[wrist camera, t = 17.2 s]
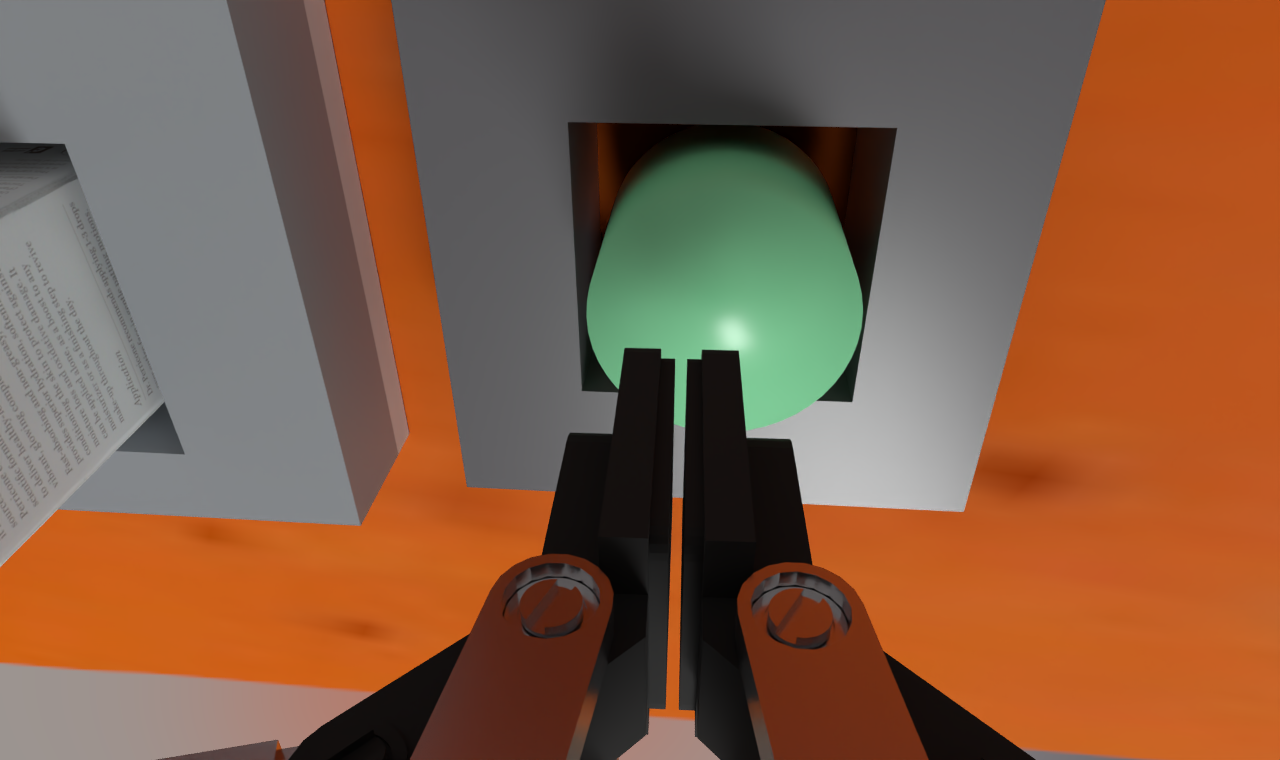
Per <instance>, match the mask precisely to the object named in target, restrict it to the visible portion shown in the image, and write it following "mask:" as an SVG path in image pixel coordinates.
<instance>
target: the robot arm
mask: <svg viewBox="0 0 1280 760" xmlns="http://www.w3.org/2000/svg"><path fill="white" fill-rule="evenodd" d="M674 401H675V359H671V358H661V349H657V348H625V349H624V355H623V362H622V369H621V376H620V383H619V390H618V398H617V405H616V412H615V419H614V426H613V433H612V434H603V433H569V435H568V438H567V441H566V446H565V450H564V455H563V460H562V464H561V469H560V473H559V478H558V483H557V487H556V492H555V497H554V501H553V506H552V510H551V515H550V520H549V524H548V529H547V533H546V538H545V543H544V547H543V552H542V555H541V556H536V557H531V558H529V559H526V560H524V561H522V562H520V563H517V564H515V565H514V566H512V567H511V568H510V569H509V570H507V571H506V572H505V573H503V574H502V575H501V576H500V577H499V579H498V580H497V582H496V583H495V584H494V586H493V587H492V589H491V590H490V593H489V595H488V597H487V599H486V601H485V603H484V605H483V607H482V609H481V611H480V614H479V616H478V618H477V620H476V622H475V624H474V626H473V628H472V630H471V632H470V634H469V635H467V636H465V637H464V638H462V639H461V640H459V641H457V642H456V643H454V644H453V645H451V646H449V647H448V648H446V649H445V650H443V651H441V652H440V653H438V654H437V655H435V656H433V657H432V658H430V659H429V660H427V661H425V662H424V663H422V664H420V665H419V666H417V667H416V668H414V669H412V670H411V671H409V672H408V673H406V674H404V675H403V676H401V677H400V678H398V679H396V680H395V681H393V682H392V683H390V684H388V685H387V686H385V687H384V688H382V689H380V690H379V691H377V692H376V693H374V694H372V695H371V696H369V697H368V698H366V699H364V700H363V701H361V702H360V703H358V704H356V705H355V706H353V707H351V708H350V709H348V710H347V711H345V712H344V713H342V714H340V715H339V716H337V717H335V718H334V719H332V720H331V721H329V722H327V723H326V724H324V725H323V726H321V727H320V728H319V729H317V730H316V731H315V732H314V733H312V734H311V735H310V736H309V737H307V738H306V739H305V740H303V742H302V743H301V744H300V745H299V746H297V747H291V748H285V749H281V746H280V744H279V741H278V740H274V741H267V742H261V743H255V744H249V745H243V746H237V747H231V748H225V749H219V750H213V751H207V752H201V753H195V754H188V755H183V756H176V757H170V758H164V759H158V760H619V757H620V756H621V755H622V754H623V753H625V752H626V751H627V750H628V749H630V748H631V747H632V746H633V745H634V744H636V743H637V742H638V741H639V740H640V739H642V738H643V737H644V736H645V735H646V734H647V735H648V726H649V725H648V724H649V708H652V709H665V707H666V678H667V648H668V619H669V589H670V559H671V530H672V494H673V447H674ZM679 710H695V737H698V739H699V740H700V741H701V742H702V743H704V744H705V745H706V746H707V747H708V748H709V749H710V750H711V751H712V752H713V753H714V754H715V755H716V756H717V757H718V758H719V759H720V760H1035V759H1034V758H1033V757H1031V756H1030V755H1028V754H1027V753H1026V752H1024V751H1023V750H1021V749H1020V748H1019V747H1017V746H1016V745H1014V744H1013V743H1012V742H1010V741H1009V740H1007V739H1006V738H1005V737H1003V736H1002V735H1000V734H999V733H998V732H996V731H995V730H993V729H992V728H991V727H989V726H988V725H986V724H985V723H984V722H982V721H981V720H979V719H978V718H977V717H975V716H974V715H972V714H971V713H970V712H968V711H967V710H965V709H964V708H962V707H961V706H960V705H958V704H957V703H955V702H954V701H953V700H951V699H950V698H948V697H947V696H946V695H944V694H943V693H941V692H940V691H939V690H937V689H936V688H934V687H933V686H932V685H930V684H929V683H927V682H926V681H925V680H923V679H922V678H920V677H919V676H918V675H916V674H915V673H913V672H912V671H911V670H909V669H908V668H906V667H905V666H904V665H902V664H901V663H899V662H898V661H897V660H895V659H894V658H892V657H891V656H890V655H888V654H887V653H885V652H884V651H883V650H882V647H881V645H880V642H879V640H878V638H877V635H876V633H875V631H874V628H873V626H872V623H871V621H870V619H869V616H868V614H867V611H866V609H865V607H864V604H863V602H862V601H861V599H860V598H859V596H858V595H857V593H856V591H855V590H854V589H853V588H852V587H851V586H850V585H849V584H848V583H847V582H845V581H844V580H843V579H842V578H841V577H839V576H837V575H836V574H834V573H832V572H830V571H828V570H826V569H824V568H821V567H817V566H814V565H812V559H811V553H810V547H809V541H808V535H807V529H806V523H805V517H804V511H803V505H802V499H801V493H800V487H799V481H798V474H797V468H796V462H795V456H794V450H793V445H792V441H791V440H790V439H775V438H747V436H746V425H745V414H744V402H743V391H742V380H741V369H740V357H739V351H738V350H702V353H701V359H687V379H686V412H685V444H684V477H683V512H682V566H681V621H680V676H679Z"/></svg>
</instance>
